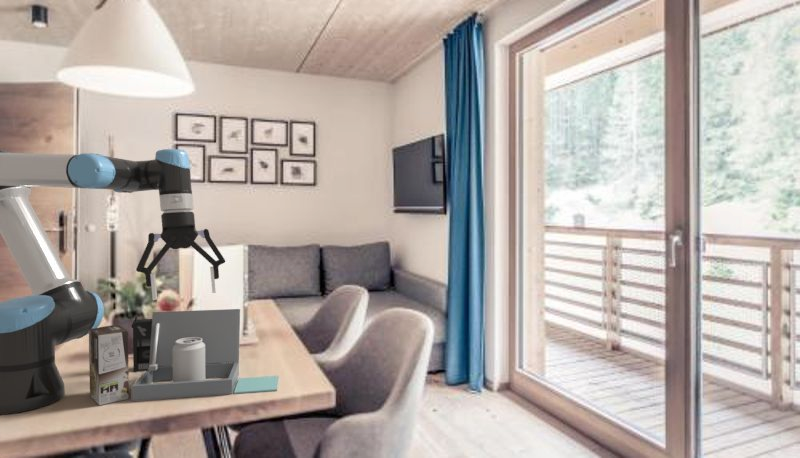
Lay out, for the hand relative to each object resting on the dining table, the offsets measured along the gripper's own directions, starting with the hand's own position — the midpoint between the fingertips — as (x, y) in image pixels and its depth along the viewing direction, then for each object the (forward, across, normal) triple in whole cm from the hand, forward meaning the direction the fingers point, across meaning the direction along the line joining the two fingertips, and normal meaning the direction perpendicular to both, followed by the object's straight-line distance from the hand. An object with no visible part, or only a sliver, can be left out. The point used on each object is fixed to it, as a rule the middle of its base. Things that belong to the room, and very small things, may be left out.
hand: (185, 295), depth 120 cm
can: (+23, -1, -2) cm, 23 cm away
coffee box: (+22, -18, -2) cm, 28 cm away
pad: (+24, +15, -6) cm, 29 cm away
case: (+23, 0, +1) cm, 23 cm away
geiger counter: (+21, -11, +18) cm, 30 cm away
